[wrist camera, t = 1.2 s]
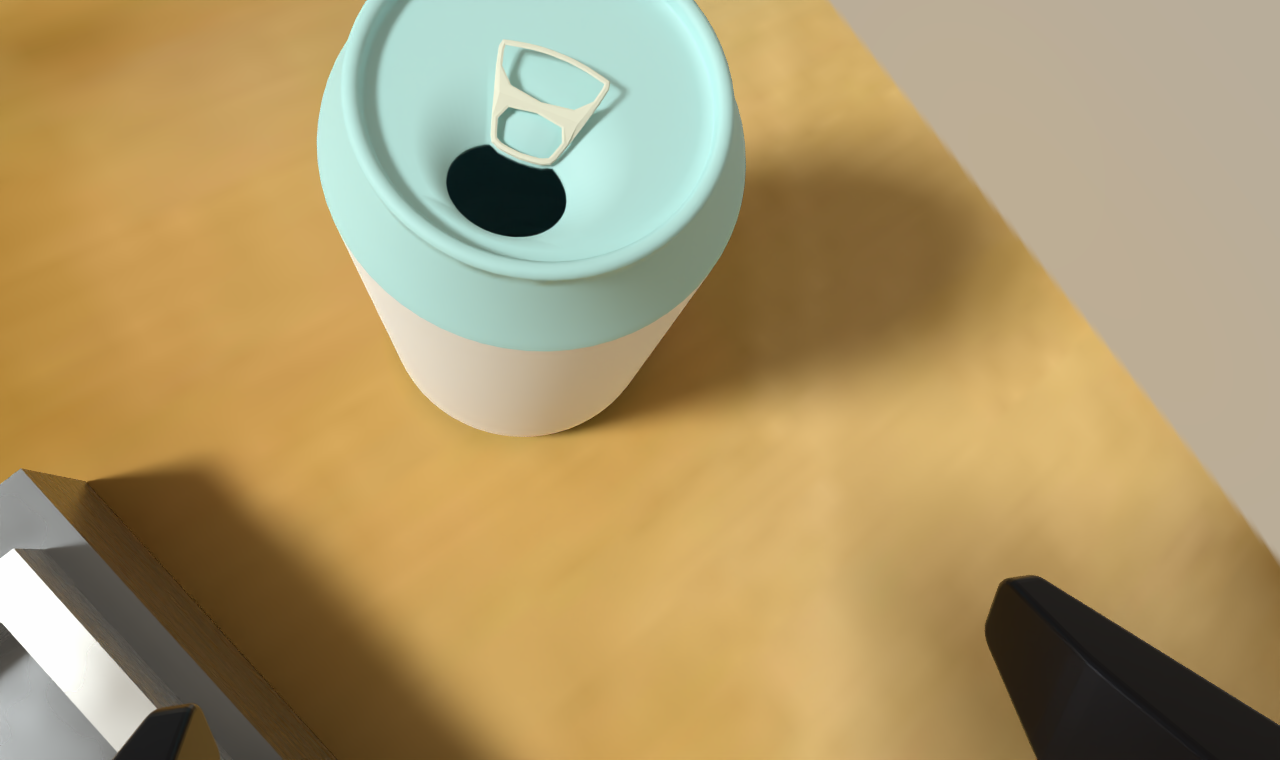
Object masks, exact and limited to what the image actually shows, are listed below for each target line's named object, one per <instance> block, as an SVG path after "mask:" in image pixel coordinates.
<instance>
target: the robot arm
mask: <svg viewBox="0 0 1280 760" xmlns="http://www.w3.org/2000/svg"><path fill="white" fill-rule="evenodd" d="M985 637H986V641H987V644H988V647H989V649H990V652H991V654H992V656H993V659H994V661H995V663H996V666H997V668H998V670H999V673H1000V675H1001V677H1002V680H1003V682H1004V684H1005V687H1006V689H1007V691H1008V694H1009V696H1010V698H1011V701H1012V703H1013V705H1014V708H1015V710H1016V712H1017V715H1018V717H1019V719H1020V722H1021V724H1022V726H1023V729H1024V731H1025V733H1026V736H1027V738H1028V740H1029V743H1030V745H1031V747H1032V749H1033V751H1034V753H1035V756H1036V758H1037V760H1280V725H1278V724H1277V723H1275V722H1273V721H1272V720H1270V719H1269V718H1267V717H1265V716H1264V715H1262V714H1260V713H1259V712H1257V711H1256V710H1254V709H1252V708H1251V707H1249V706H1248V705H1246V704H1244V703H1243V702H1241V701H1240V700H1238V699H1236V698H1235V697H1233V696H1232V695H1230V694H1228V693H1227V692H1225V691H1223V690H1222V689H1220V688H1219V687H1217V686H1215V685H1214V684H1212V683H1211V682H1209V681H1207V680H1206V679H1204V678H1203V677H1201V676H1199V675H1198V674H1196V673H1194V672H1193V671H1191V670H1190V669H1188V668H1186V667H1185V666H1183V665H1182V664H1180V663H1178V662H1177V661H1175V660H1174V659H1172V658H1170V657H1169V656H1167V655H1165V654H1164V653H1162V652H1161V651H1159V650H1157V649H1156V648H1154V647H1153V646H1151V645H1149V644H1148V643H1146V642H1145V641H1143V640H1141V639H1140V638H1138V637H1136V636H1135V635H1133V634H1132V633H1130V632H1128V631H1127V630H1125V629H1124V628H1122V627H1120V626H1119V625H1117V624H1116V623H1114V622H1112V621H1111V620H1109V619H1107V618H1106V617H1104V616H1103V615H1101V614H1099V613H1098V612H1096V611H1095V610H1093V609H1091V608H1090V607H1088V606H1087V605H1085V604H1083V603H1082V602H1080V601H1079V600H1077V599H1075V598H1074V597H1072V596H1070V595H1069V594H1067V593H1066V592H1064V591H1062V590H1061V589H1059V588H1058V587H1056V586H1054V585H1053V584H1051V583H1050V582H1048V581H1046V580H1045V579H1043V578H1041V577H1038V576H1035V575H1026V576H1020V577H1013V578H1007V579H1004V580H1003V581H1002V582H1001V583H1000V584H999V586H998V588H997V591H996V594H995V597H994V600H993V603H992V605H991V608H990V611H989V614H988V617H987V620H986V623H985ZM112 760H220V754H219V750H218V747H217V744H216V742H215V740H214V737H213V735H212V733H211V730H210V728H209V725H208V723H207V721H206V718H205V716H204V713H203V711H202V710H201V708H200V707H199V706H198V705H197V704H195V703H188V704H181V705H175V706H168V707H162V708H158V709H156V710H154V711H152V712H151V713H150V714H149V715H148V716H147V717H146V718H145V719H144V720H143V722H142V723H141V724H140V725H139V727H138V728H137V729H136V730H135V732H134V733H133V734H132V735H131V736H130V738H129V739H128V740H127V741H126V743H125V744H124V745H123V746H122V748H121V749H120V750H119V751H118V753H117V754H116V755H115V756H114V758H113V759H112Z"/></svg>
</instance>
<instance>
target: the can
mask: <svg viewBox="0 0 1280 760" xmlns="http://www.w3.org/2000/svg"><path fill="white" fill-rule="evenodd" d="M317 156H318V166H319V173H320V179H321V184H322V188H323V191H324V195H325V199H326V202H327V205H328V207H329V210H330V213H331V215H332V218H333V220H334V223H335V225H336V227H337V229H338V231H339V233H340V235H341V237H342V239H343V241H344V243H345V245H346V247H347V249H348V252H349V254H350V256H351V258H352V260H353V262H354V264H355V266H356V268H357V270H358V272H359V274H360V276H361V278H362V281H363V283H364V285H365V287H366V289H367V291H368V293H369V295H370V297H371V299H372V301H373V303H374V305H375V307H376V309H377V312H378V314H379V316H380V318H381V320H382V322H383V324H384V326H385V328H386V330H387V332H388V334H389V336H390V338H391V341H392V343H393V345H394V347H395V349H396V351H397V353H398V355H399V357H400V359H401V361H402V363H403V365H404V367H405V369H406V371H407V372H408V374H409V375H410V377H411V378H412V380H413V382H414V383H415V384H416V385H417V387H418V388H419V389H420V390H421V392H422V393H423V394H424V395H425V396H426V397H427V398H428V399H429V400H430V401H431V402H432V403H434V404H435V405H436V406H437V407H439V408H440V409H441V410H442V411H444V412H445V413H447V414H448V415H450V416H451V417H453V418H455V419H457V420H459V421H460V422H462V423H464V424H466V425H469V426H471V427H474V428H476V429H479V430H482V431H486V432H489V433H494V434H499V435H505V436H515V437H531V436H542V435H547V434H553V433H557V432H560V431H564V430H567V429H570V428H572V427H575V426H577V425H579V424H581V423H583V422H585V421H587V420H589V419H591V418H592V417H594V416H595V415H597V414H599V413H600V412H602V411H603V410H604V409H605V408H606V407H608V406H609V405H610V404H611V403H612V402H613V401H614V400H615V399H616V398H617V397H618V396H619V395H620V394H621V393H622V392H623V391H624V389H625V388H626V387H627V386H628V385H629V383H630V382H631V380H632V379H633V378H634V376H635V375H636V373H637V372H638V371H639V369H640V368H641V367H642V365H643V364H644V362H645V361H646V360H647V358H648V357H649V356H650V354H651V353H652V351H653V350H654V349H655V347H656V346H657V345H658V343H659V342H660V340H661V339H662V338H663V336H664V335H665V334H666V332H667V331H668V329H669V328H670V327H671V325H672V324H673V323H674V321H675V320H676V318H677V317H678V316H679V314H680V313H681V311H682V310H683V309H684V307H685V306H686V305H687V303H688V302H689V300H690V299H691V298H692V296H693V295H694V294H695V292H696V291H697V289H698V288H699V287H700V285H701V284H702V283H703V281H704V280H705V278H706V277H707V276H708V274H709V273H710V271H711V270H712V268H713V267H714V265H715V264H716V262H717V261H718V259H719V258H720V256H721V255H722V253H723V251H724V249H725V247H726V245H727V243H728V241H729V239H730V237H731V235H732V232H733V229H734V227H735V224H736V222H737V218H738V215H739V211H740V207H741V204H742V198H743V192H744V186H745V171H746V158H745V140H744V134H743V127H742V122H741V118H740V114H739V110H738V106H737V103H736V100H735V98H734V91H733V84H732V79H731V75H730V71H729V67H728V63H727V60H726V57H725V54H724V52H723V49H722V46H721V44H720V42H719V40H718V38H717V36H716V34H715V31H714V30H713V28H712V26H711V25H710V23H709V21H708V20H707V18H706V16H705V15H704V13H703V12H702V11H701V9H700V8H699V7H698V5H697V4H696V2H695V1H694V0H367V1H366V2H365V4H364V6H363V7H362V9H361V11H360V13H359V14H358V16H357V18H356V20H355V23H354V25H353V27H352V30H351V32H350V35H349V38H348V40H347V42H346V43H345V45H344V47H343V49H342V50H341V52H340V54H339V56H338V58H337V59H336V61H335V64H334V66H333V68H332V71H331V73H330V76H329V78H328V81H327V85H326V88H325V91H324V95H323V98H322V103H321V109H320V114H319V120H318V132H317Z"/></svg>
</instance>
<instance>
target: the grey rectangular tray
mask: <svg viewBox="0 0 1280 760" xmlns="http://www.w3.org/2000/svg"><path fill="white" fill-rule="evenodd" d="M188 703H195V704H197V705H198V706H199V707H200V708H201V710H202V711H203V713H204V716H205V718H206V721H207V723H208V725H209V728H210V730H211V733H212V735H213V737H214V740H215V742H216V744H217V747H218V750H219V754H220V760H337V759H336V758H335V757H334V756H333V754H332V753H331V752H330V751H329V750H328V749H327V748H326V747H325V746H324V745H323V743H322V742H321V741H320V740H319V739H318V738H317V737H316V736H315V735H314V733H313V732H312V731H311V730H310V729H309V728H308V727H307V726H306V725H305V724H304V722H303V721H302V720H301V719H300V718H299V717H298V716H297V715H296V714H295V712H294V711H293V710H292V709H291V708H290V707H289V706H288V705H287V704H286V703H285V701H284V700H283V699H282V698H281V697H280V696H279V695H278V694H277V693H276V691H275V690H274V689H273V688H272V687H271V686H270V685H269V684H268V683H267V682H266V680H265V679H264V678H263V677H262V676H261V675H260V674H259V673H258V672H257V670H256V669H255V668H254V667H253V666H252V665H251V664H250V663H249V662H248V661H247V659H246V658H245V657H244V656H243V655H242V654H241V653H240V652H239V651H238V649H237V648H236V647H235V646H234V645H233V644H232V643H231V642H230V641H229V640H228V638H227V637H226V636H225V635H224V634H223V633H222V632H221V631H220V630H219V628H218V627H217V626H216V625H215V624H214V623H213V622H212V621H211V620H210V619H209V617H208V616H207V615H206V614H205V613H204V612H203V611H202V610H201V609H200V608H199V606H198V605H197V604H196V603H195V602H194V601H193V600H192V599H191V598H190V596H189V595H188V594H187V593H186V592H185V591H184V590H183V589H182V588H181V587H180V585H179V584H178V583H177V582H176V581H175V580H174V579H173V578H172V577H171V575H170V574H169V573H168V572H167V571H166V570H165V569H164V568H163V567H162V566H161V564H160V563H159V562H158V561H157V560H156V559H155V558H154V557H153V556H152V554H151V553H150V552H149V551H148V550H147V549H146V548H145V547H144V546H143V545H142V543H141V542H140V541H139V540H138V539H137V538H136V537H135V536H134V535H133V533H132V532H131V531H130V530H129V529H128V528H127V527H126V526H125V525H124V524H123V522H122V521H121V520H120V519H119V518H118V517H117V516H116V515H115V514H114V512H113V511H112V510H111V509H110V508H109V507H108V506H107V505H106V504H105V503H104V501H103V500H102V499H101V498H100V497H99V496H98V495H97V494H96V493H95V491H94V490H93V489H92V488H91V487H90V486H89V485H88V484H87V483H86V482H85V481H81V480H76V479H71V478H66V477H61V476H56V475H51V474H46V473H41V472H36V471H31V470H26V469H20V470H18V471H17V472H16V473H14V474H13V475H12V476H10V477H9V478H8V479H7V480H5V481H4V482H3V483H1V484H0V760H112V759H113V758H114V756H115V755H116V754H117V753H118V751H119V750H120V749H121V748H122V746H123V745H124V744H125V743H126V741H127V740H128V739H129V738H130V736H131V735H132V734H133V733H134V732H135V730H136V729H137V728H138V727H139V725H140V724H141V723H142V722H143V720H144V719H145V718H146V717H147V716H148V715H149V714H150V713H151V712H152V711H154V710H156V709H158V708H162V707H168V706H175V705H181V704H188Z"/></svg>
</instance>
